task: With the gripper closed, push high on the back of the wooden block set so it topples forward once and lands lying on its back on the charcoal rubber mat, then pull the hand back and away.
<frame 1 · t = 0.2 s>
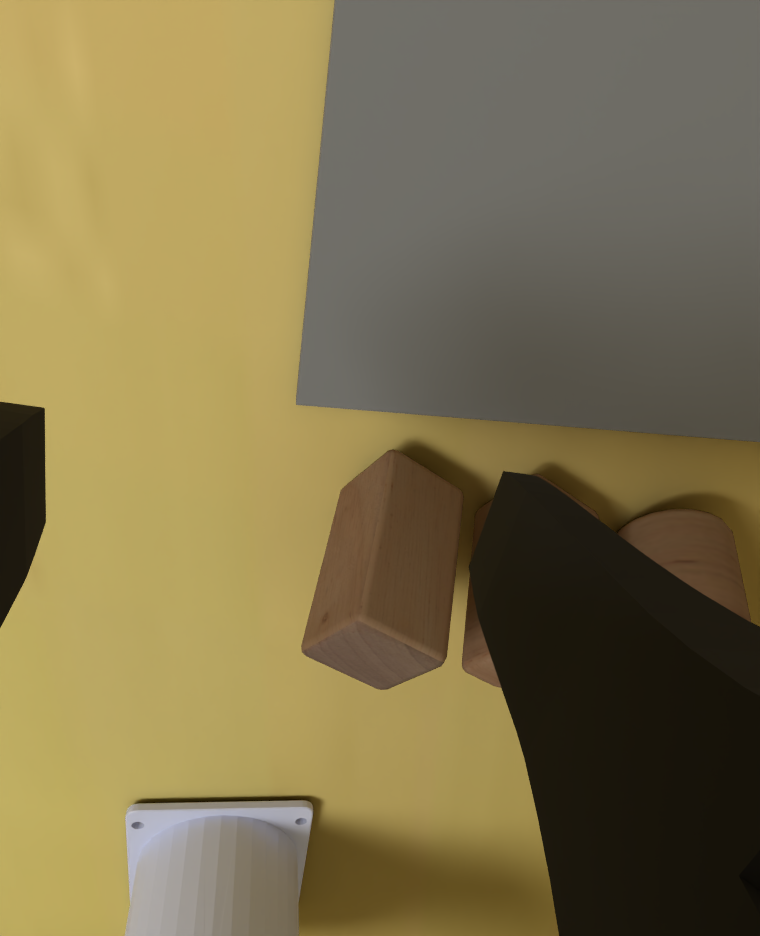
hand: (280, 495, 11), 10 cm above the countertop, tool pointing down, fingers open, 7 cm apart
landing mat: (687, 222, 20), on the countertop
wooden block set: (557, 556, 27), on the countertop
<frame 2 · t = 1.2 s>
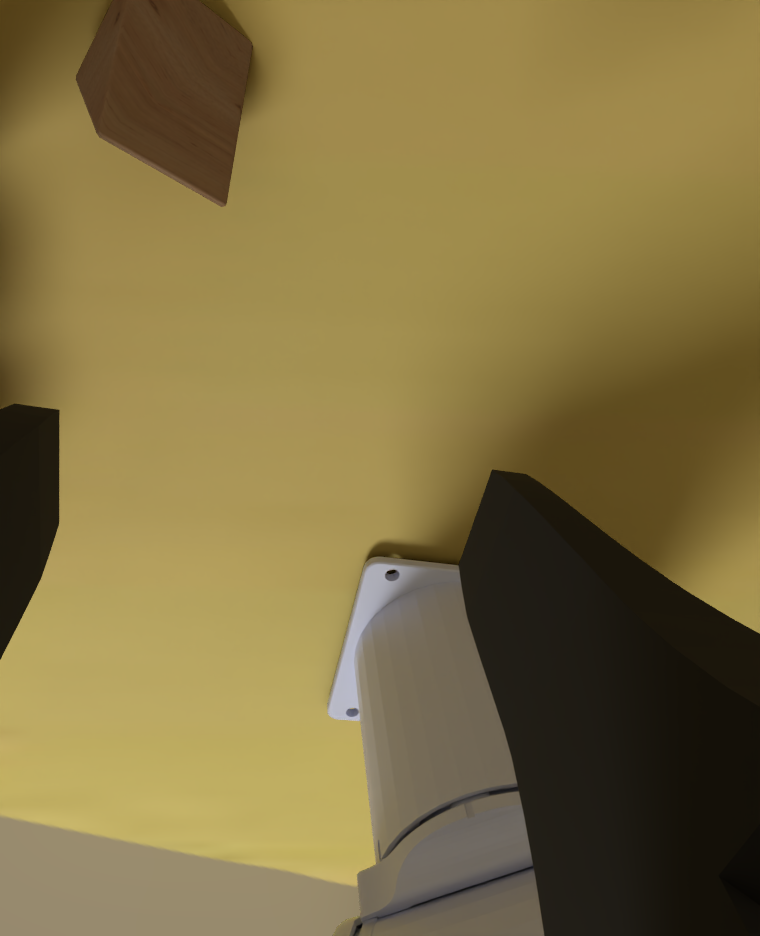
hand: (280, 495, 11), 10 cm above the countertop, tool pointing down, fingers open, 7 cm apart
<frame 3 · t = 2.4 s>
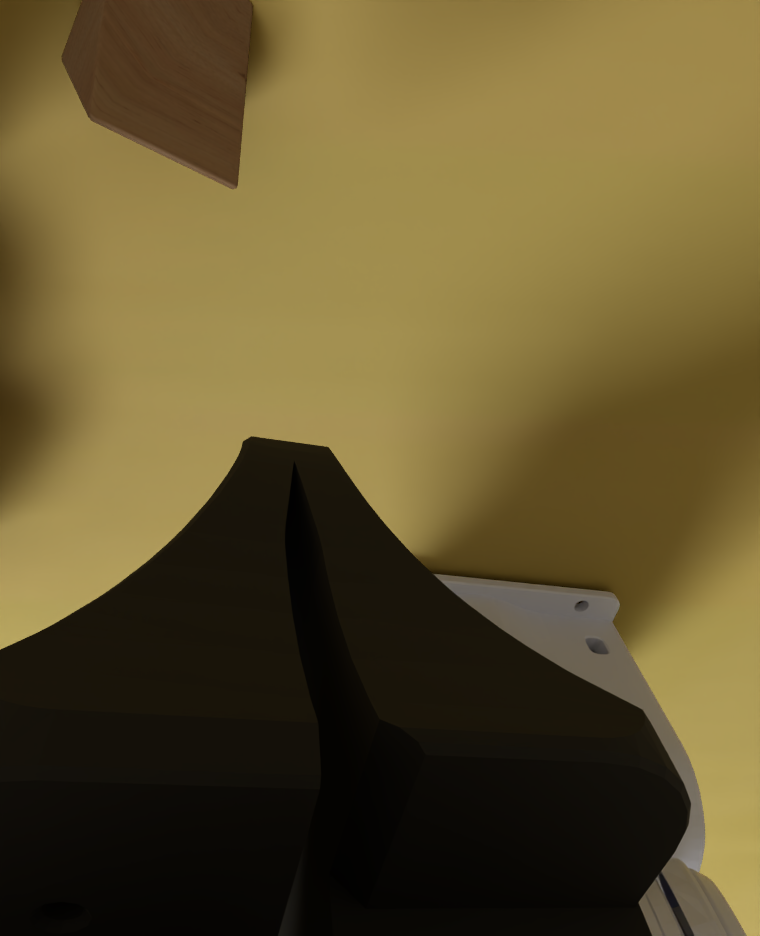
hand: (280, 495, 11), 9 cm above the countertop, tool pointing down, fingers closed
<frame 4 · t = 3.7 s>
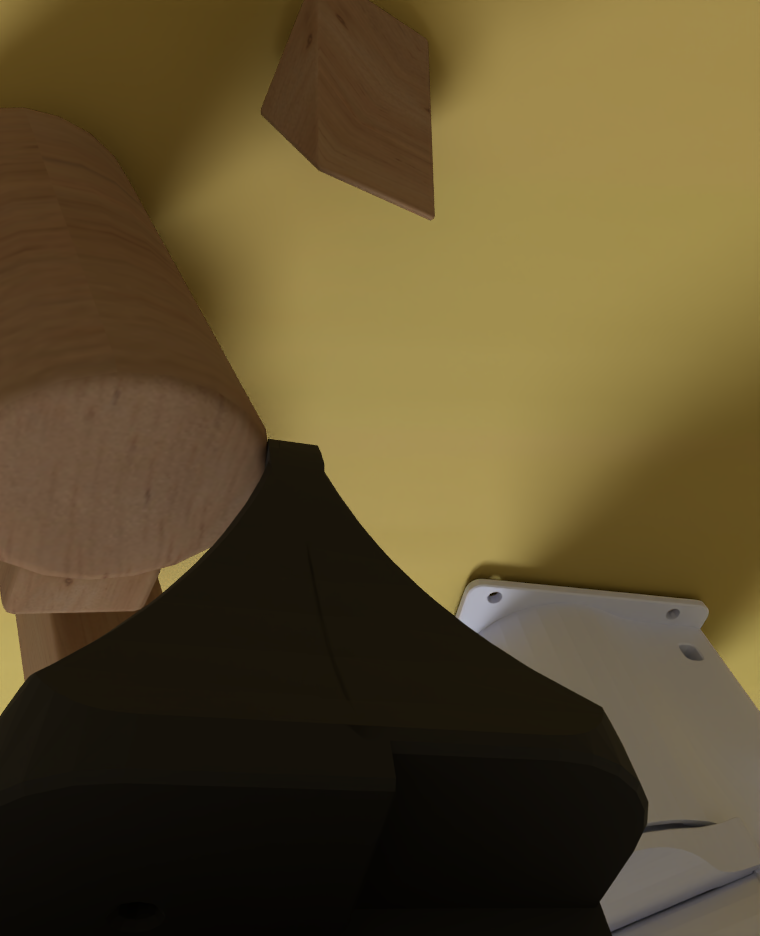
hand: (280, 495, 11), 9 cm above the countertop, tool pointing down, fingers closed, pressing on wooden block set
wooden block set: (144, 323, 19), on the countertop, touching gripper
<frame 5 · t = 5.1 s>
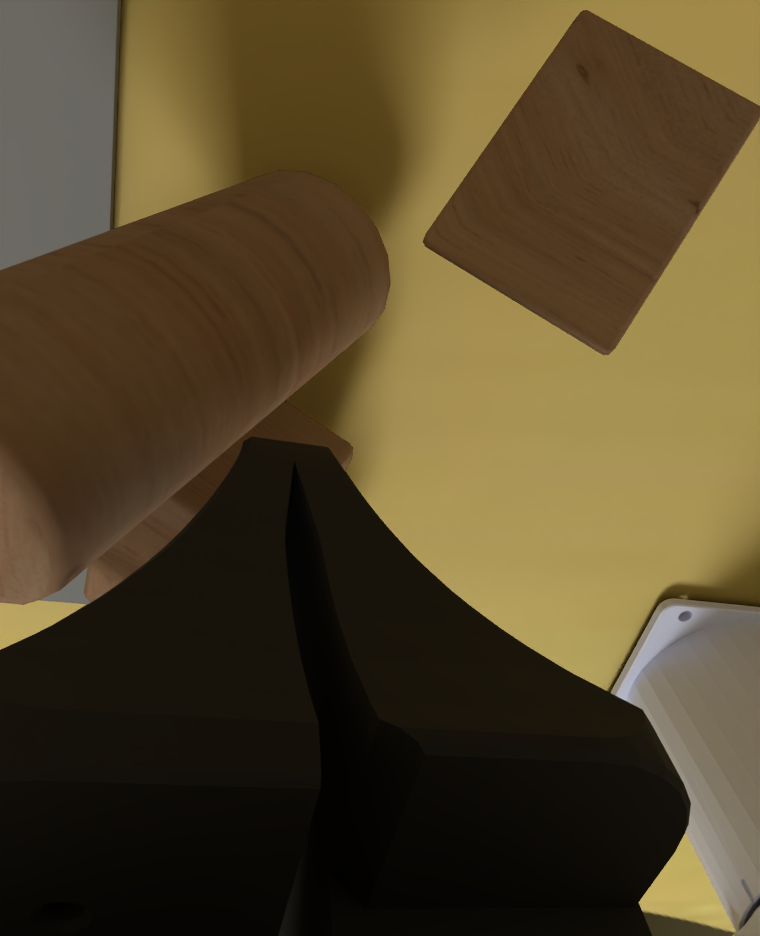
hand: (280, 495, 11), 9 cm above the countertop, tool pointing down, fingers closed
wooden block set: (383, 408, 17), point 3 cm above the countertop, touching gripper
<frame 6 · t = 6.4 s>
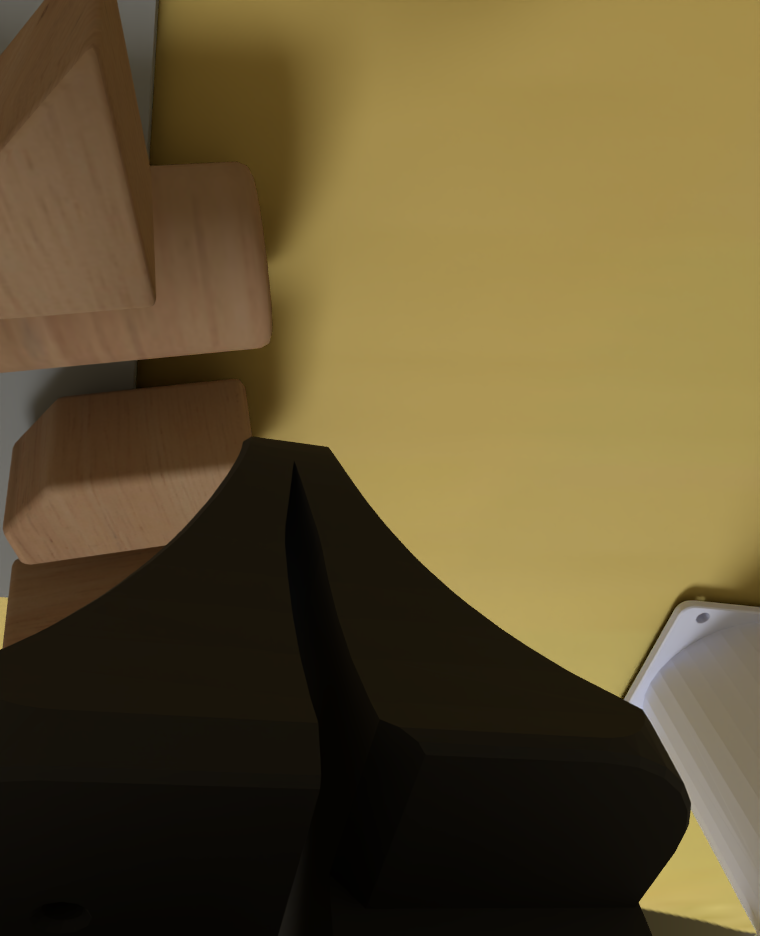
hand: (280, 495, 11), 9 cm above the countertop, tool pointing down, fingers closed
wooden block set: (264, 431, 16), point 4 cm above the countertop, touching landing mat
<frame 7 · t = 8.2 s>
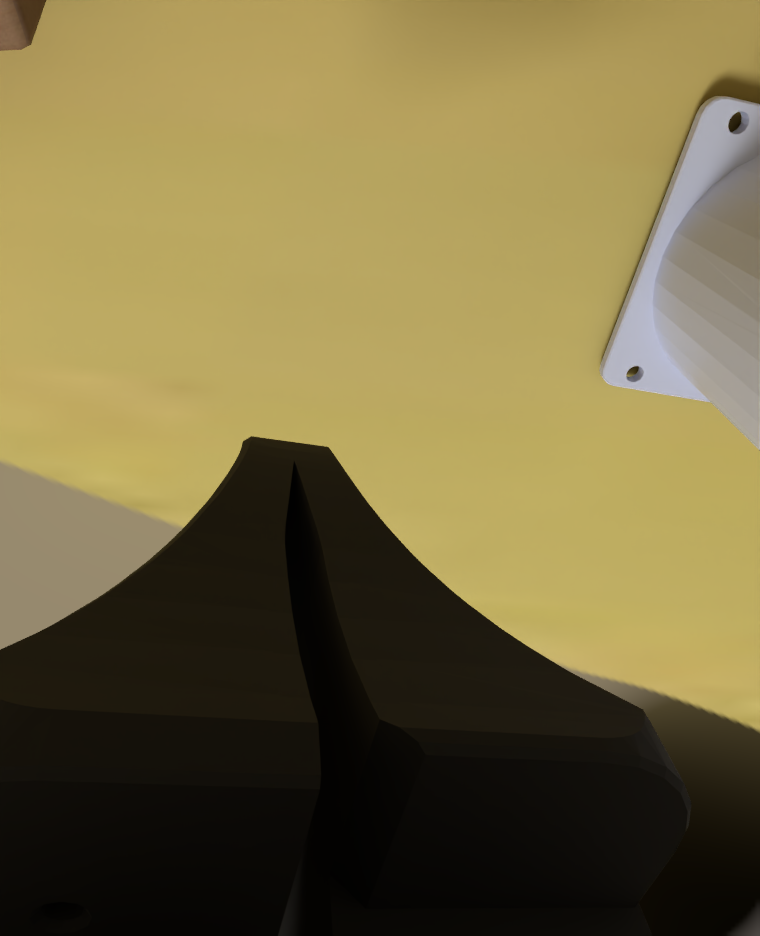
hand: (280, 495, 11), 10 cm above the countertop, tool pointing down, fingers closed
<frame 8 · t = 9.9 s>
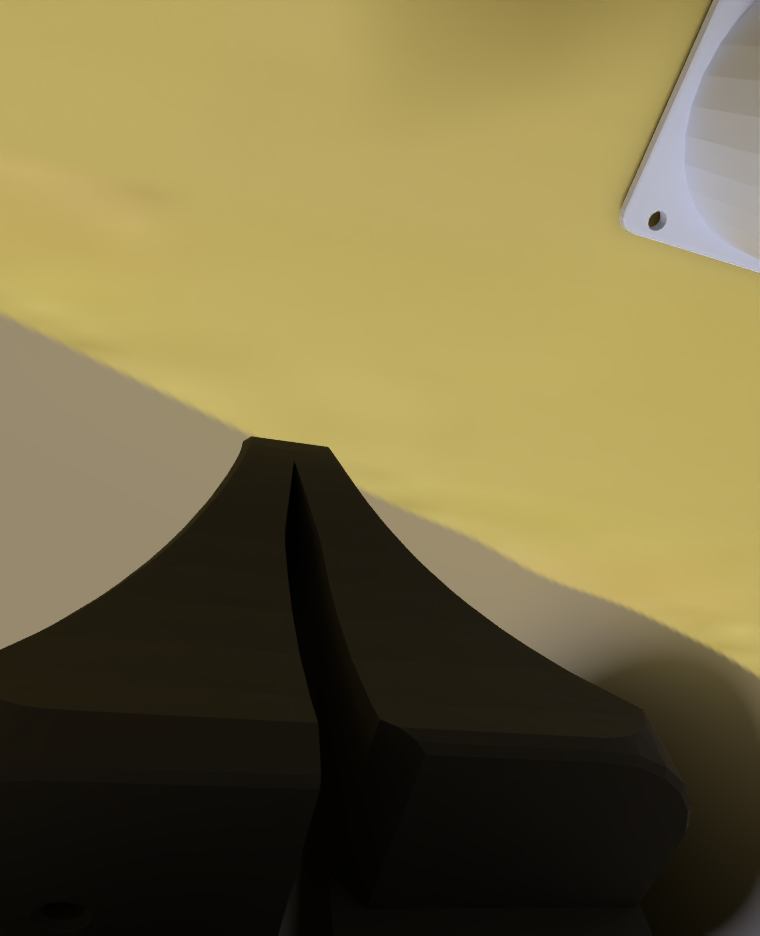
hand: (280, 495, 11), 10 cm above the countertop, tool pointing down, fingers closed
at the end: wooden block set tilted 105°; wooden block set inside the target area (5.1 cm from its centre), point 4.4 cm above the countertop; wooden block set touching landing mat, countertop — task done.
